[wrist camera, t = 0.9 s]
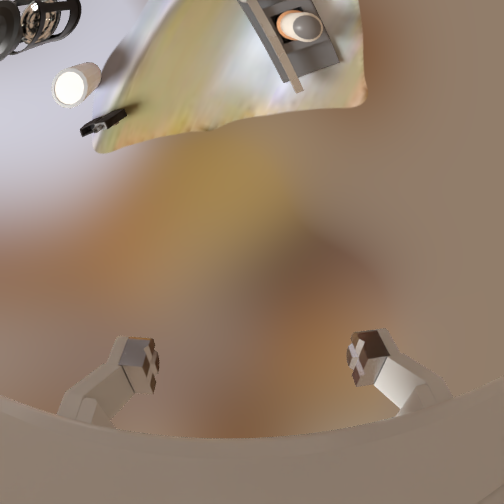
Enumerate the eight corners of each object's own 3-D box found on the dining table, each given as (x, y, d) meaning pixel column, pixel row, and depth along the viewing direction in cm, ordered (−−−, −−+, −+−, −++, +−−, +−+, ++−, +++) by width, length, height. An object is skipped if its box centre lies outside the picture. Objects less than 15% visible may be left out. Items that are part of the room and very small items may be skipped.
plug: (267, 17, 31) (279, 17, 24) (296, 6, 30) (317, 4, 22) (281, 42, 35) (297, 51, 27) (309, 32, 33) (333, 38, 25)
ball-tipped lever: (237, -8, 26) (237, -10, 25) (250, -14, 26) (251, -15, 24) (292, 92, 38) (295, 95, 37) (304, 87, 38) (307, 90, 36)
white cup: (96, 52, 33) (78, 60, 28) (110, 85, 38) (94, 97, 33) (65, 70, 33) (45, 81, 29) (79, 101, 38) (61, 115, 34)
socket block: (231, -10, 28) (231, -12, 26) (292, -31, 26) (298, -36, 23) (282, 81, 41) (287, 87, 38) (337, 61, 38) (346, 66, 35)
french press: (78, -19, 22) (-16, -15, 6) (90, 23, 28) (-1, 48, 13) (25, 16, 23) (-69, 49, 7) (38, 54, 29) (-52, 103, 14)
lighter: (103, 124, 45) (81, 140, 42) (99, 114, 43) (76, 130, 41) (128, 119, 41) (103, 137, 38) (123, 108, 39) (98, 125, 36)
